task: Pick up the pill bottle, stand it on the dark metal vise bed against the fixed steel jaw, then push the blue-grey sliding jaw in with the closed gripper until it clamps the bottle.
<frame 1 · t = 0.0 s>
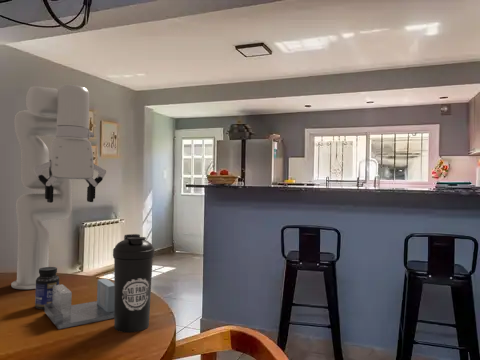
hand: (70, 202, 98), 31 cm above the table, fingers open, 9 cm apart
water bottle: (131, 326, 98), on the table
sliding jaw: (107, 294, 109), point 4 cm above the table, slide at 0.0 cm, touching vise base
vise base: (85, 314, 105), on the table
pill bottle: (46, 307, 111), on the table
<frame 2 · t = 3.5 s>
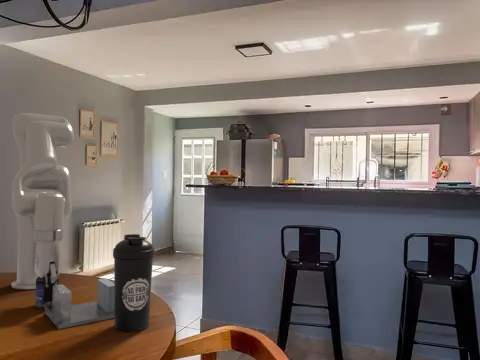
hand: (47, 297, 111), 3 cm above the table, fingers closed on pill bottle, 6 cm apart
pill bottle: (46, 307, 111), on the table, touching gripper
everything else where it was.
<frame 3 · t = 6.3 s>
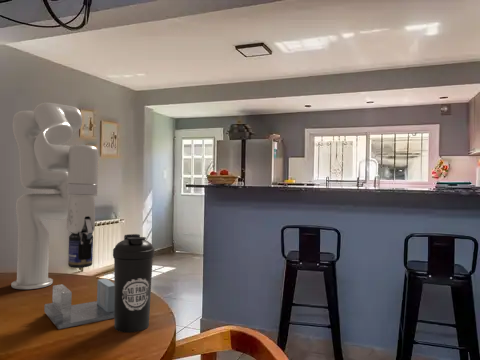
hand: (80, 256, 104), 16 cm above the table, fingers closed on pill bottle, 6 cm apart
pill bottle: (80, 266, 104), point 13 cm above the table, touching gripper
everything else where it was.
when the fingers open (5 cm above the table, at t = 9.0 s): pill bottle drops 1 cm, resting on vise base.
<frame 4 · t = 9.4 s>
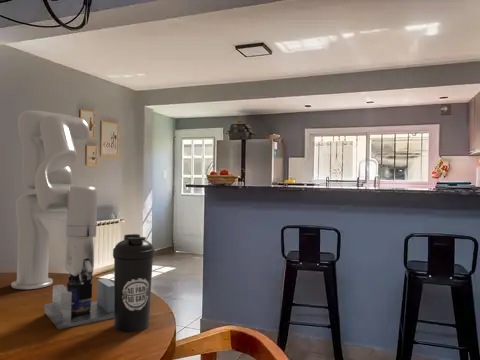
hand: (79, 294, 104), 6 cm above the table, fingers open, 9 cm apart
pill bottle: (78, 312, 104), point 1 cm above the table, touching vise base
everything else where it was.
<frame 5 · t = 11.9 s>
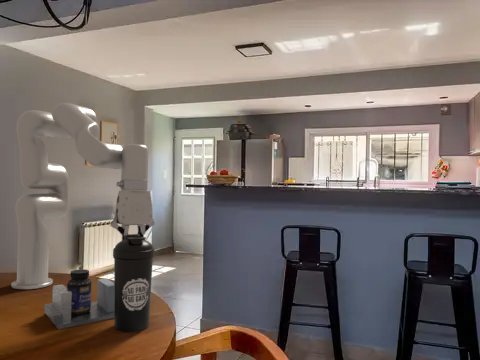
hand: (132, 247, 113), 17 cm above the table, fingers open, 3 cm apart
nothing on the table moved.
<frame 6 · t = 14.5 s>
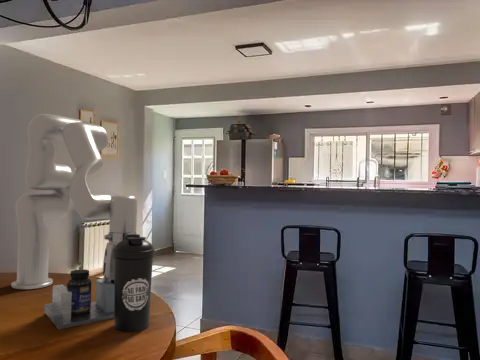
hand: (121, 300, 111), 2 cm above the table, fingers closed
sliding jaw: (105, 294, 108), point 5 cm above the table, slide at 0.4 cm, touching gripper, vise base
everything else where it was.
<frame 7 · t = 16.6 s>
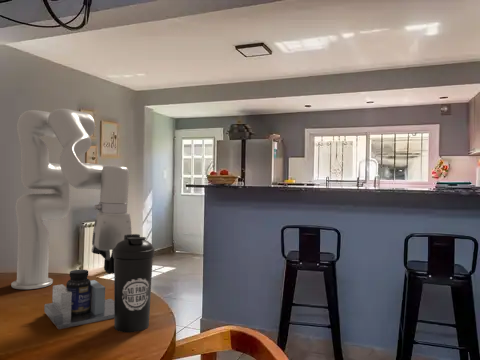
hand: (109, 272, 110), 11 cm above the table, fingers closed
sliding jaw: (94, 296, 107), point 4 cm above the table, slide at 3.4 cm, touching vise base
everything else where it was.
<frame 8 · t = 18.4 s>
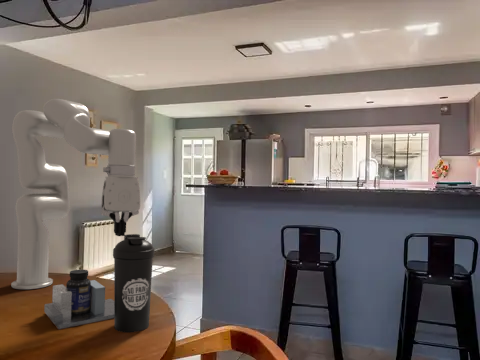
hand: (119, 235, 111), 21 cm above the table, fingers closed
nothing on the table moved.
at the end: sliding jaw slide at 3.4 cm; pill bottle 0.6 cm from the target spot, point 0.8 cm above the table; pill bottle tilted 0° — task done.
